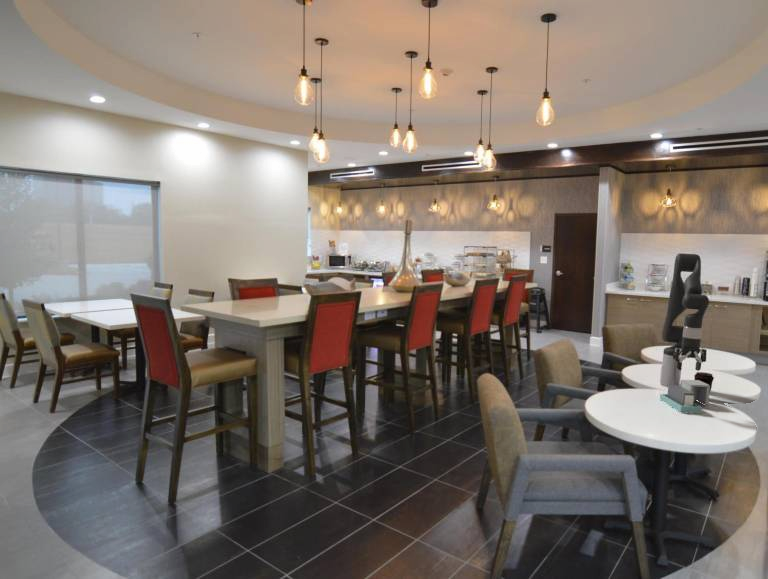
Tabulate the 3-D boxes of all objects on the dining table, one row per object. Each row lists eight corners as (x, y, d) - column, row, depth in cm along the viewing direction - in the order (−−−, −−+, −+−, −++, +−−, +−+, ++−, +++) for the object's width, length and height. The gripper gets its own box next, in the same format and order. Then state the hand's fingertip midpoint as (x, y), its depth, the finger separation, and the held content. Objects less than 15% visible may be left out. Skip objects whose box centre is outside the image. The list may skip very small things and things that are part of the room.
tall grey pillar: (666, 400, 251) (668, 384, 250) (676, 400, 251) (678, 385, 250) (682, 409, 238) (684, 393, 237) (693, 410, 238) (695, 393, 237)
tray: (659, 399, 254) (660, 393, 253) (678, 400, 254) (679, 394, 253) (680, 412, 236) (681, 406, 235) (700, 413, 236) (701, 406, 235)
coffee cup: (710, 402, 253) (713, 376, 251) (691, 398, 258) (693, 373, 256) (712, 398, 260) (714, 373, 258) (693, 394, 265) (695, 370, 263)
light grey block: (678, 399, 255) (680, 379, 254) (697, 400, 255) (699, 380, 254) (688, 405, 247) (691, 384, 246) (707, 406, 247) (710, 385, 246)
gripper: (702, 335, 242) (698, 368, 244) (672, 334, 243) (668, 367, 245) (712, 338, 235) (708, 372, 237) (681, 337, 235) (677, 371, 237)
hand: (688, 370), depth 241 cm, fingers open, 8 cm apart
